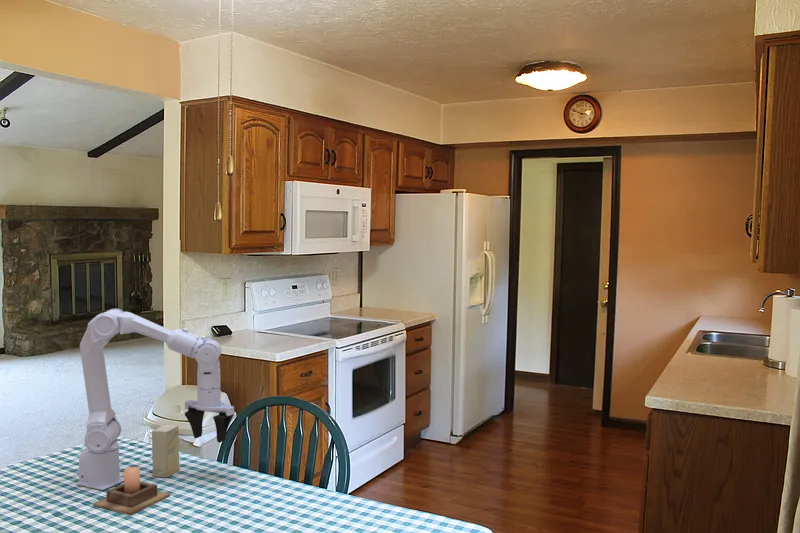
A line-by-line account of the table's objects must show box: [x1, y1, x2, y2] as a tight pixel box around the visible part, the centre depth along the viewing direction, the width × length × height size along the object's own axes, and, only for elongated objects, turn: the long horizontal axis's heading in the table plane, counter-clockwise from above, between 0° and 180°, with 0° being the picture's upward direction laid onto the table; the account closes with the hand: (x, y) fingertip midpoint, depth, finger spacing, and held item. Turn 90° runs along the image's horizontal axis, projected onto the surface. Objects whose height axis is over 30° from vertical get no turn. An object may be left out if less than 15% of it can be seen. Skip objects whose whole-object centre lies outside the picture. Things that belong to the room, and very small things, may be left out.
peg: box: [123, 466, 141, 494], centre depth 157 cm, size 4×4×7 cm
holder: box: [92, 480, 171, 516], centre depth 157 cm, size 12×12×3 cm
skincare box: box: [151, 424, 180, 478], centre depth 175 cm, size 6×4×12 cm
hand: (209, 439), depth 171 cm, fingers open, 7 cm apart
